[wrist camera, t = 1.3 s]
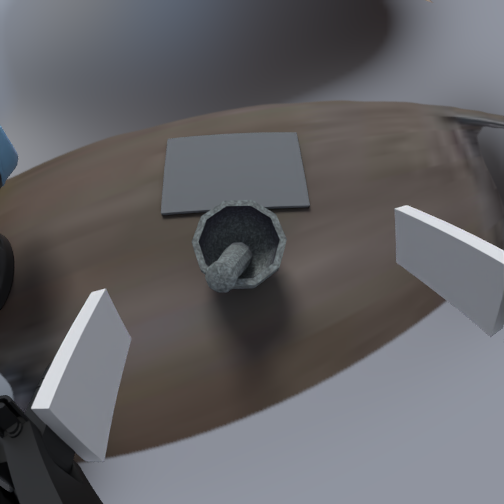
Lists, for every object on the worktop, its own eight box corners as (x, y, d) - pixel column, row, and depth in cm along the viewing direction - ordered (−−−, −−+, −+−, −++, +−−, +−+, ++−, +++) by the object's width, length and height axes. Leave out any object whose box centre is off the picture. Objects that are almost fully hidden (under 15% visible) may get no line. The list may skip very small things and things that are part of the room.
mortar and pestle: (216, 215, 39) (206, 163, 27) (285, 234, 38) (302, 187, 27) (188, 296, 35) (163, 272, 24) (262, 318, 35) (272, 305, 23)
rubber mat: (161, 215, 38) (160, 213, 38) (168, 141, 42) (167, 139, 42) (308, 207, 39) (309, 205, 39) (295, 134, 43) (296, 132, 43)
